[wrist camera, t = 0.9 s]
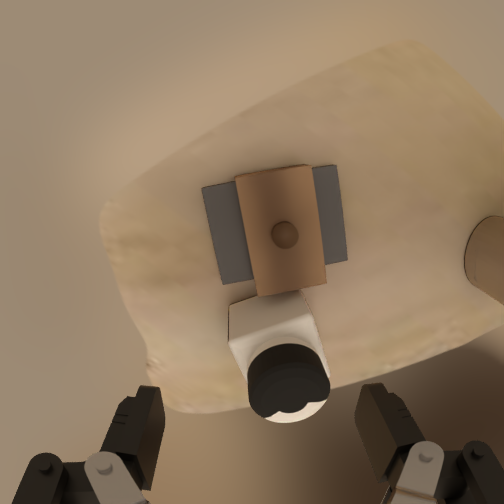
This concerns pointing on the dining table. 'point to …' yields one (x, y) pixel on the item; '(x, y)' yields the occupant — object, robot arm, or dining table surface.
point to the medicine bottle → (279, 355)
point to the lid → (282, 228)
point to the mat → (233, 232)
